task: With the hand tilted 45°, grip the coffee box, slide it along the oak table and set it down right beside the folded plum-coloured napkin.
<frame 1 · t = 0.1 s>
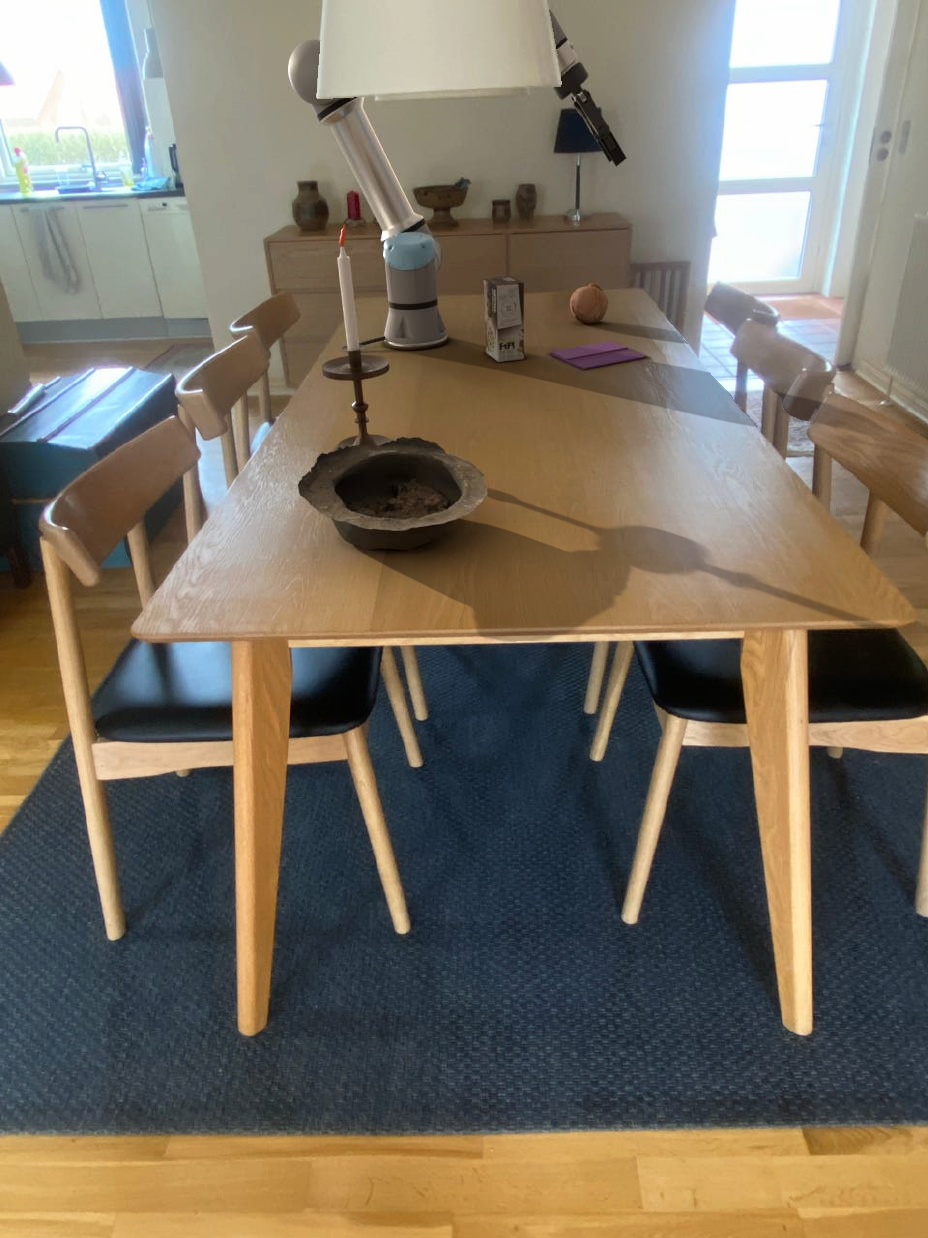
hand: (617, 160, 187), 36 cm above the table, tool tilted 35°, fingers open, 13 cm apart
napkin: (598, 356, 182), on the table
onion: (588, 322, 208), on the table
candlestick: (365, 449, 141), on the table
stone bowl: (400, 528, 115), on the table
coffee box: (504, 356, 185), on the table
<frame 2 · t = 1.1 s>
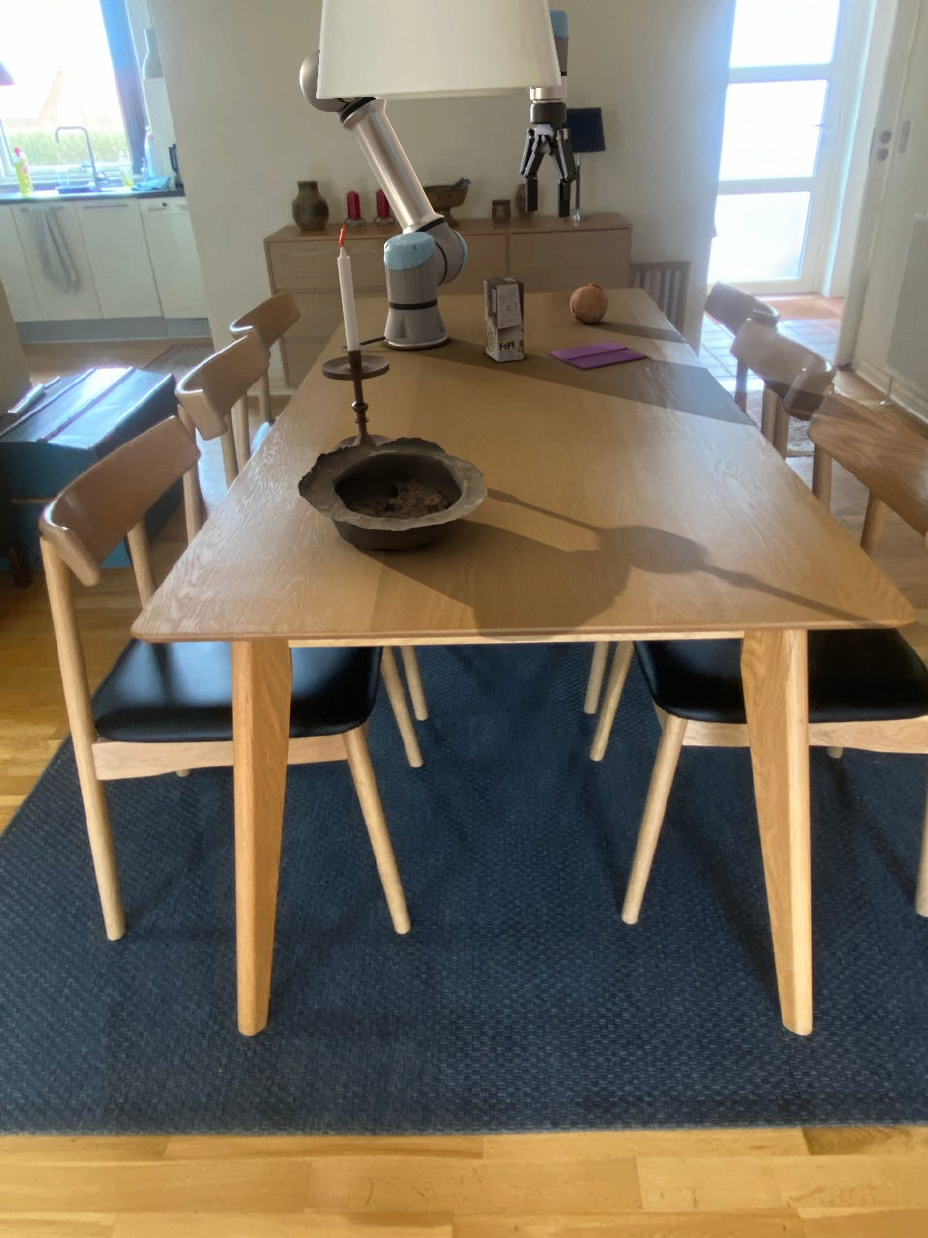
hand: (547, 214, 183), 27 cm above the table, tool pointing down, fingers open, 13 cm apart
nothing on the table moved.
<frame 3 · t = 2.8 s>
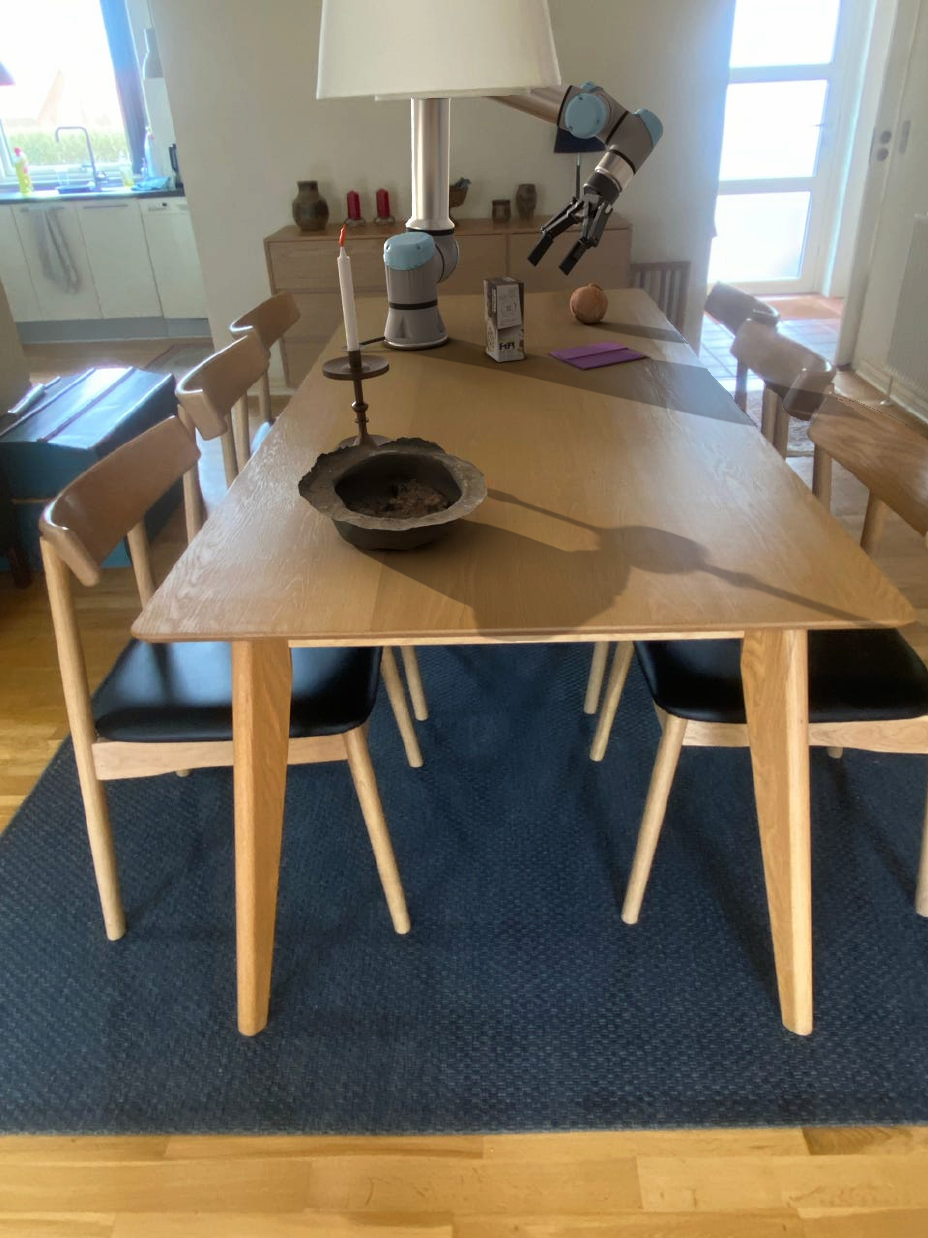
hand: (546, 266, 179), 18 cm above the table, tool tilted 45°, fingers open, 13 cm apart
nothing on the table moved.
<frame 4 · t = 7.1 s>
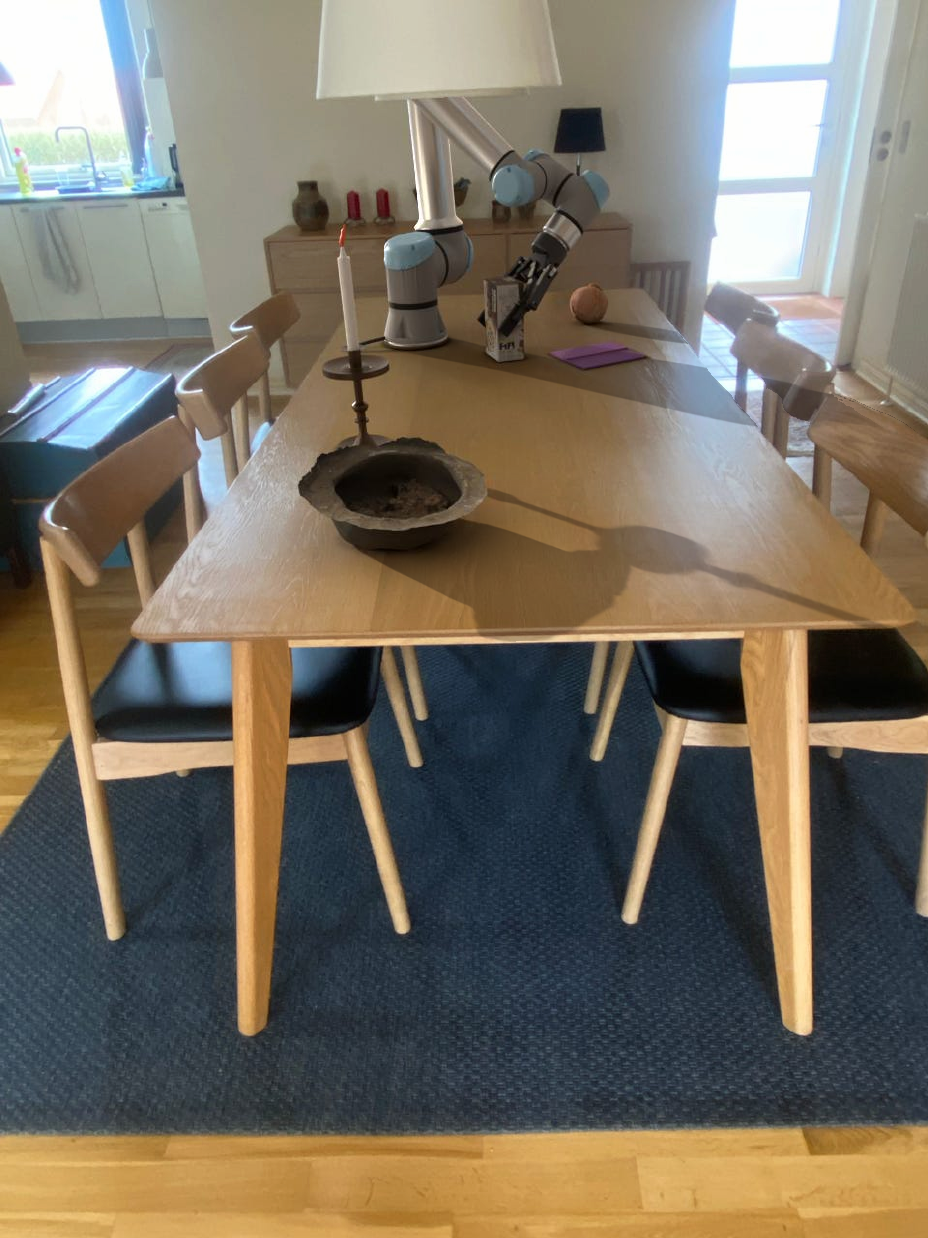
hand: (491, 328, 180), 6 cm above the table, tool tilted 45°, fingers closed on coffee box, 10 cm apart
coffee box: (504, 356, 185), on the table, touching gripper
everything else where it was.
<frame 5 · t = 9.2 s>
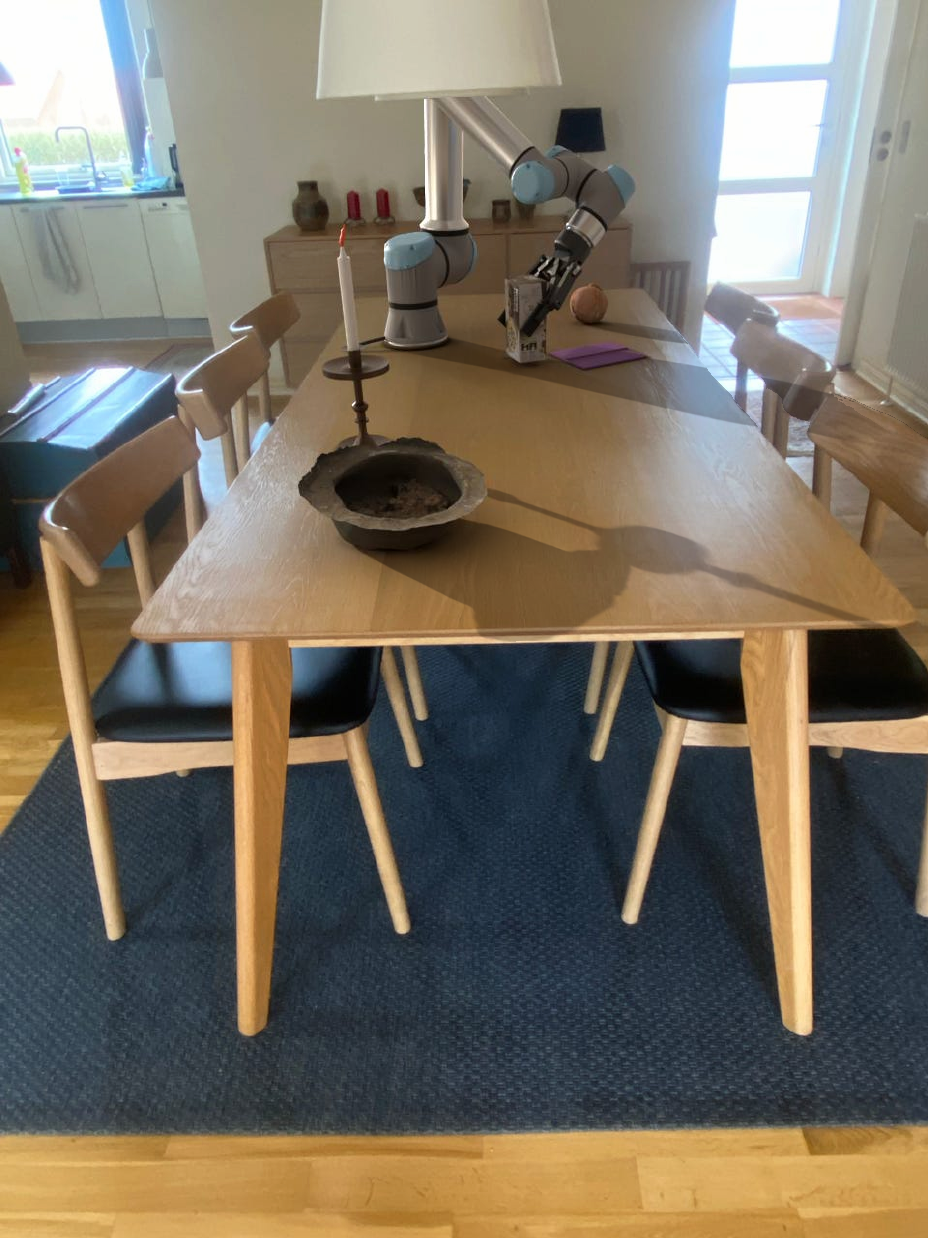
hand: (513, 328, 175), 8 cm above the table, tool tilted 45°, fingers closed on coffee box, 9 cm apart
coffee box: (526, 357, 180), point 1 cm above the table, touching gripper
everything else where it was.
when the fingers open (6 cm above the table, at t = 11.4 s): coffee box stays where it is, on the table.
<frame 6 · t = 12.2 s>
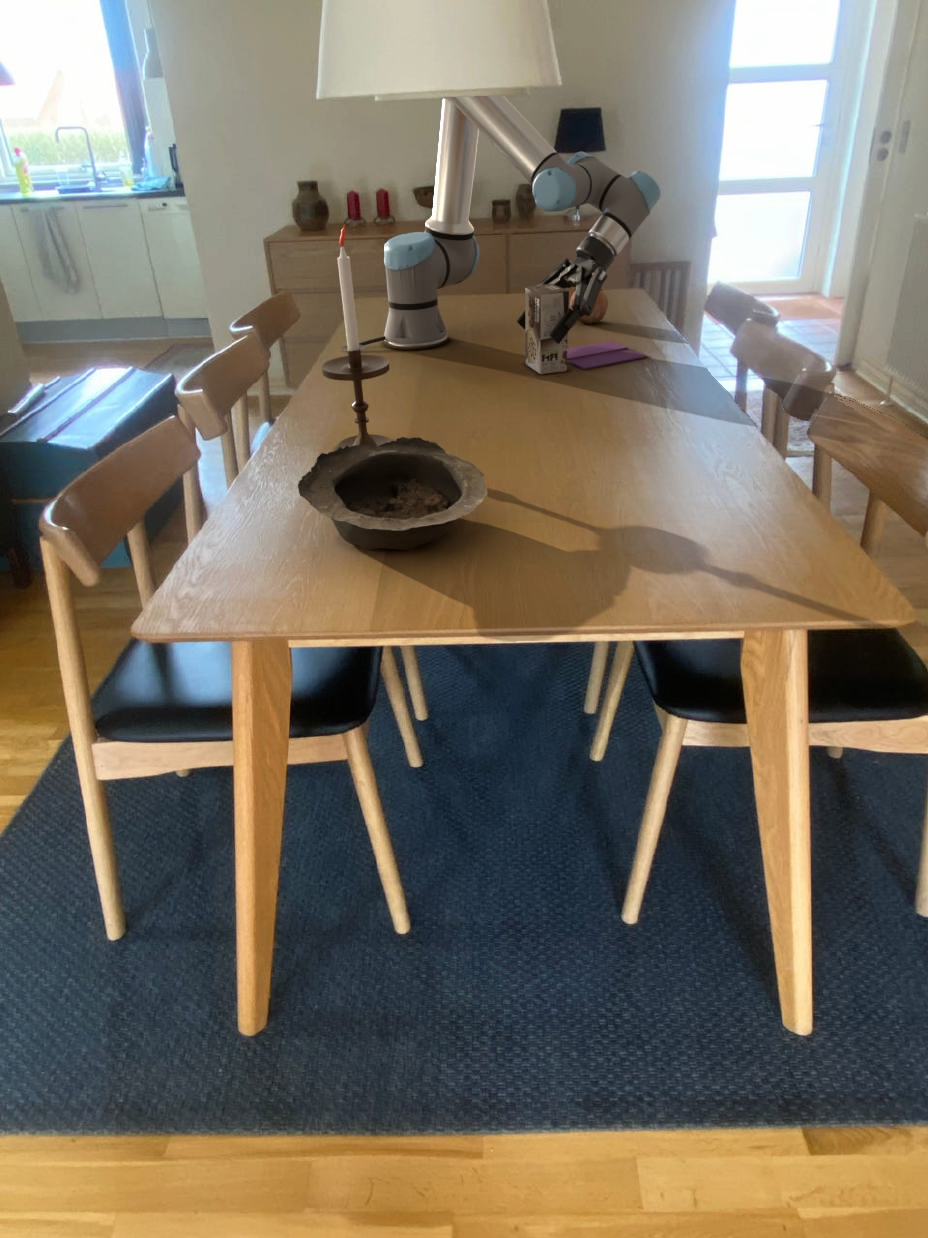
hand: (537, 332, 171), 8 cm above the table, tool tilted 45°, fingers open, 13 cm apart
coffee box: (545, 368, 176), on the table
everything else where it was.
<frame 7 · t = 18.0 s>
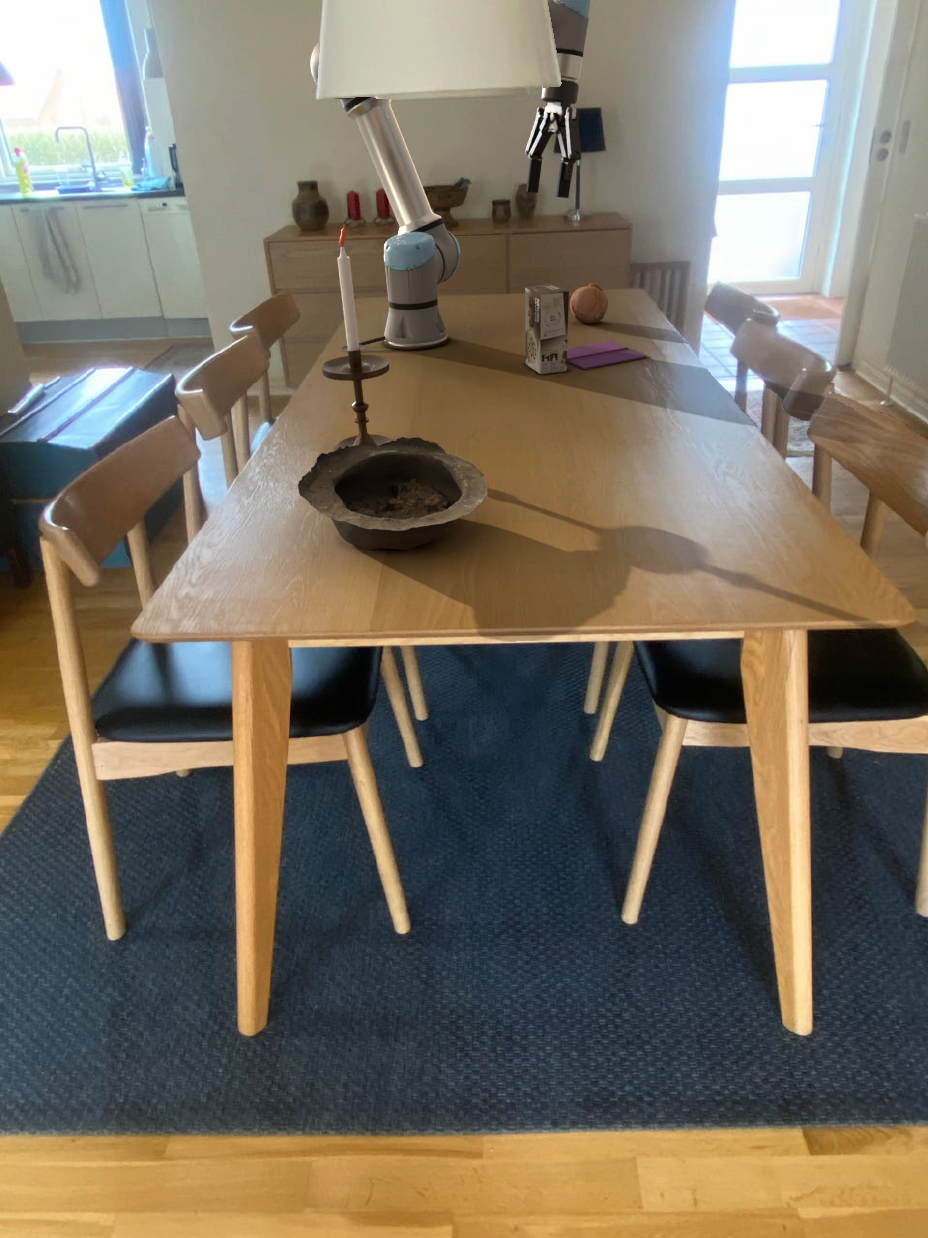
hand: (546, 194, 181), 30 cm above the table, tool pointing down, fingers open, 13 cm apart
nothing on the table moved.
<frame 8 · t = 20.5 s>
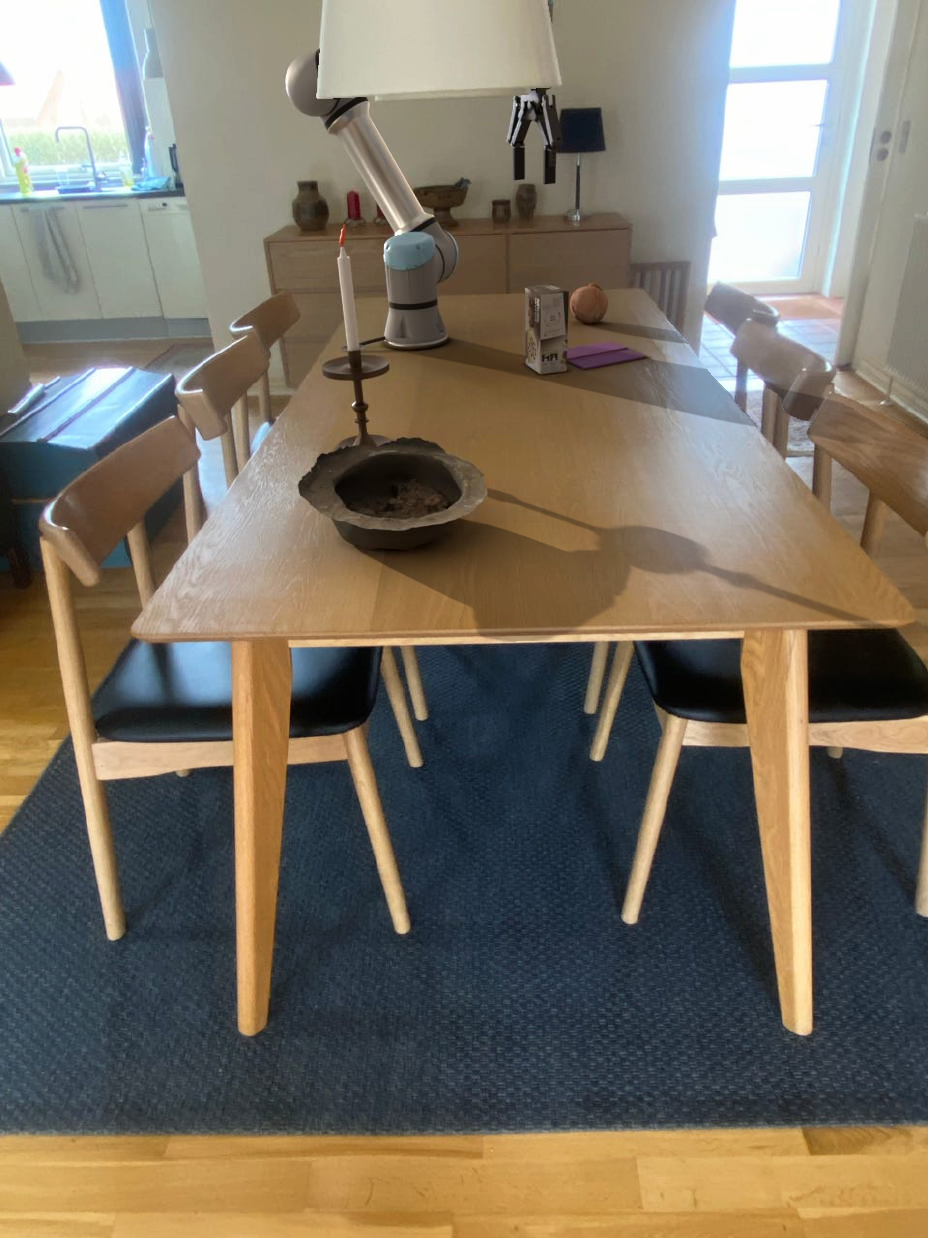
hand: (533, 181, 184), 33 cm above the table, tool pointing down, fingers open, 13 cm apart
nothing on the table moved.
at the end: coffee box inside the target area on the table beside the napkin (1.3 cm from its centre), on the table; coffee box tilted 0°; the gripper is holding nothing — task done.
